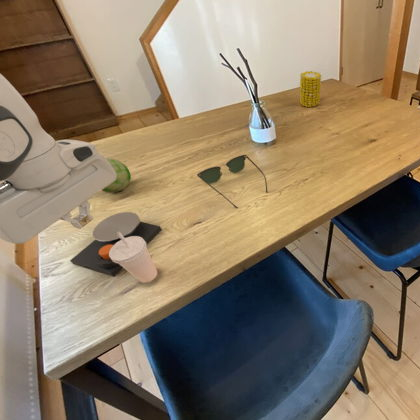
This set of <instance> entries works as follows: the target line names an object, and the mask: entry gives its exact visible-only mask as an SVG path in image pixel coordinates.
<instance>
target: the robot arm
mask: <svg viewBox="0 0 420 420" xmlns="http://www.w3.org/2000/svg"><path fill="white" fill-rule="evenodd" d="M116 177H117V173H116V171H115V170H114V168H113V167H112V165H111V164H110V163H109V162H108V160H107V159H106V157H105V156H104V155H103V154H101V153H98V148H97V147H96V145H95V144H93V143H91V142H87V141H83V140H76V139H68V138H67V139H59V140H56V139H55V138H54V137H52V135H50V134H49V133H47V132H46V130H45V129H43V127H42V125H41V124H40V121H39V118H38V115H37V113H35V111H34V110H33V109H32V108H31V106H30V105H29V103H27V101H26V100H25V98H24V97H23V95H21V94H20V92H19V91H18V90H17V89H16V88H15V87H14V85H13V84H11V82H10V81H9V80H8V79H7V78H6V77H5V76H4V75H3V74H2V73H0V182H1V183H0V239H1V240H3V241H4V242H7V243H10V244H17V245H23V244H26V243H27V242H29V241H30V240H32V239H33V238H35V237H37V236H38V235H39V234H40V233H42V232H44V231H45V230H46V229H48V228H49V227H51V226H52V225H53V224H55V223H56V222H58V221H59V220H61V221H65V222H68V223H70V224H71V226H72V227H74V228H76V229H78V230H81V229H82V228H84V227H85V226H86V225H88V224H89V223H90V222H92V221H93V220H94V217H93V216H92V215H91V204H90V202H89V201H88V200H90V199H91V198H93V197H94V196H96V194H98V193H99V192H101V191H102V189H104V188H105V187H107V186H108V185H110V184H111V183H112V182H114V181H115V180H116ZM76 208H78V214H77V215H76V216H74V217H72V216H73V214H71V213H72V211H73V210H75V209H76ZM70 212H71V213H70ZM71 217H72V218H71Z"/></svg>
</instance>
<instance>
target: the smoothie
mask: <svg viewBox="0 0 420 420" xmlns="http://www.w3.org/2000/svg"><path fill="white" fill-rule="evenodd" d="M117 235H118V236H119V237H120V238H121V240H120V241H118V242H117V243H116V244H115V245H113V247H112V248H111V249H110V251H109V257H110V258H111V260H112V261H113V262H115V263H118V264H120V265H121V266H122V267H123V269H124V270H126V271H127V272H128V273H129V274H130V275H132V276H133V277H134V278H135V279H137V280H138V281H139V282H140V283H143V284H146V283H149V282H152V281H154V280H155V278H156V277H157V276H158V270H157V268H156V265H155V263H154V260H153V259H152V256H151V254H150V252H149V250H148V248H147V246H148V244H146V242H145V241H144V239H143V238H141V237H139V236H131V237H127V238H124V237H123V235H122V234H121V233H120V232H117Z"/></svg>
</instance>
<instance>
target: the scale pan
mask: <svg viewBox="0 0 420 420" xmlns="http://www.w3.org/2000/svg"><path fill="white" fill-rule="evenodd" d="M140 221H141V218H140V217H139V215H138V214H137V213H134V212H131V211H124V212H123V211H122V212H117V213H114V214H112V215H110V216H107V217H106V218H104V219H102V220H101V221H100V222H99V223H97V224H96V225H95V227H94V228H93V230H92V237H93V238H94V240H95V239H96V240H97V241H99V242H102V243H110V242H115V241H118V240H121V238H120V237H119V236H118V235H117V232H120V233H121V234H122V235H123V237H124V238H125V237H127V236H129V235H130V234H132V233H133V232H134V231H135V230H136V229H137V228H138V226H139V224H140Z"/></svg>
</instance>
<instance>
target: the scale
mask: <svg viewBox="0 0 420 420" xmlns="http://www.w3.org/2000/svg"><path fill="white" fill-rule="evenodd" d="M162 230H163V229H162V227H161V225H157V224H153V223H149V222H145V221H141V220H140V224H139V226H138V228H137V229H136V230H135V231H134V232H133V233H132V234H130V235H129V236H127V237H131V236H139V237H141V238H143V239H144V241H145V242H146V244H147V245H149V244H150V243H151V241H152V240H154V239H155V237H156V236H157V235H159V234H160V233H161V232H162ZM127 237H125V238H127ZM118 241H120V240H118ZM118 241H115V242H110V243H102V242H99V241H97V240H96V239H95V238H94V240H93V241H92V242H90V243H89V244H88V245H86V247H84V248H83V249H82V250H80V251H79V253H77V254H76V255H75V256H73V257H72V258H71V259H70V260H69V262H71V264H72V265H75V266H78V267H81V268H85V269H88V270H90V271H94V272H97V273H100V274H103V275H107V276H110V277H113V278H115V277H116V276H117V275H118V274H119V273H120V272H121V271H122V270H123V269H124V268H123V267H122V266H121V265H120V264H118V263H115V262H113V261H112V260H111V259H108V260H105V259H103V258H102V257H101V255H100V254H99V250H100V249H101V248H102V247H104V246H106V245H115V244H116V243H117V242H118Z"/></svg>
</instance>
